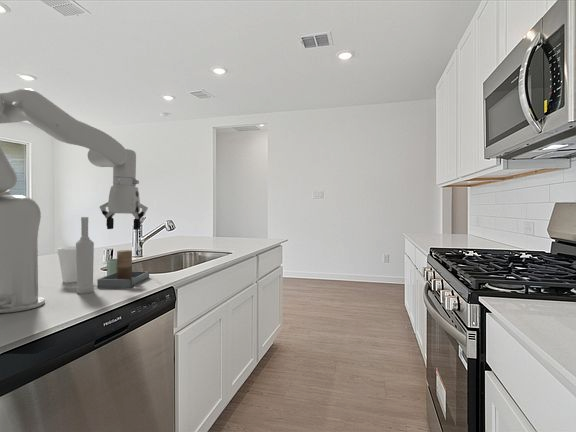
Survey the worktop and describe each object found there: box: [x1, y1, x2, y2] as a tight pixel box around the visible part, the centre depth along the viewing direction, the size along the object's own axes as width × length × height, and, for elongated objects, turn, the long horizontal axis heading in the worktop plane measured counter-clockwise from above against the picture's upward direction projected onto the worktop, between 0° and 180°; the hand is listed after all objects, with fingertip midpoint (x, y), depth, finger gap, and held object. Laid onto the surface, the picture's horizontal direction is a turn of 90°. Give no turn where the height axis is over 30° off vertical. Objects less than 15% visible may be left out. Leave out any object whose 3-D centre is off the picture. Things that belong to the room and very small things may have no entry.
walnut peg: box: [116, 249, 133, 279], centre depth 126 cm, size 5×5×11 cm
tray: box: [96, 270, 150, 289], centre depth 126 cm, size 15×12×3 cm
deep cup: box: [106, 258, 117, 276], centre depth 139 cm, size 8×8×6 cm
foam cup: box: [57, 245, 77, 283], centre depth 127 cm, size 10×9×13 cm
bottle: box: [75, 216, 95, 295], centre depth 113 cm, size 5×5×25 cm
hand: (123, 229), depth 125 cm, fingers open, 9 cm apart
